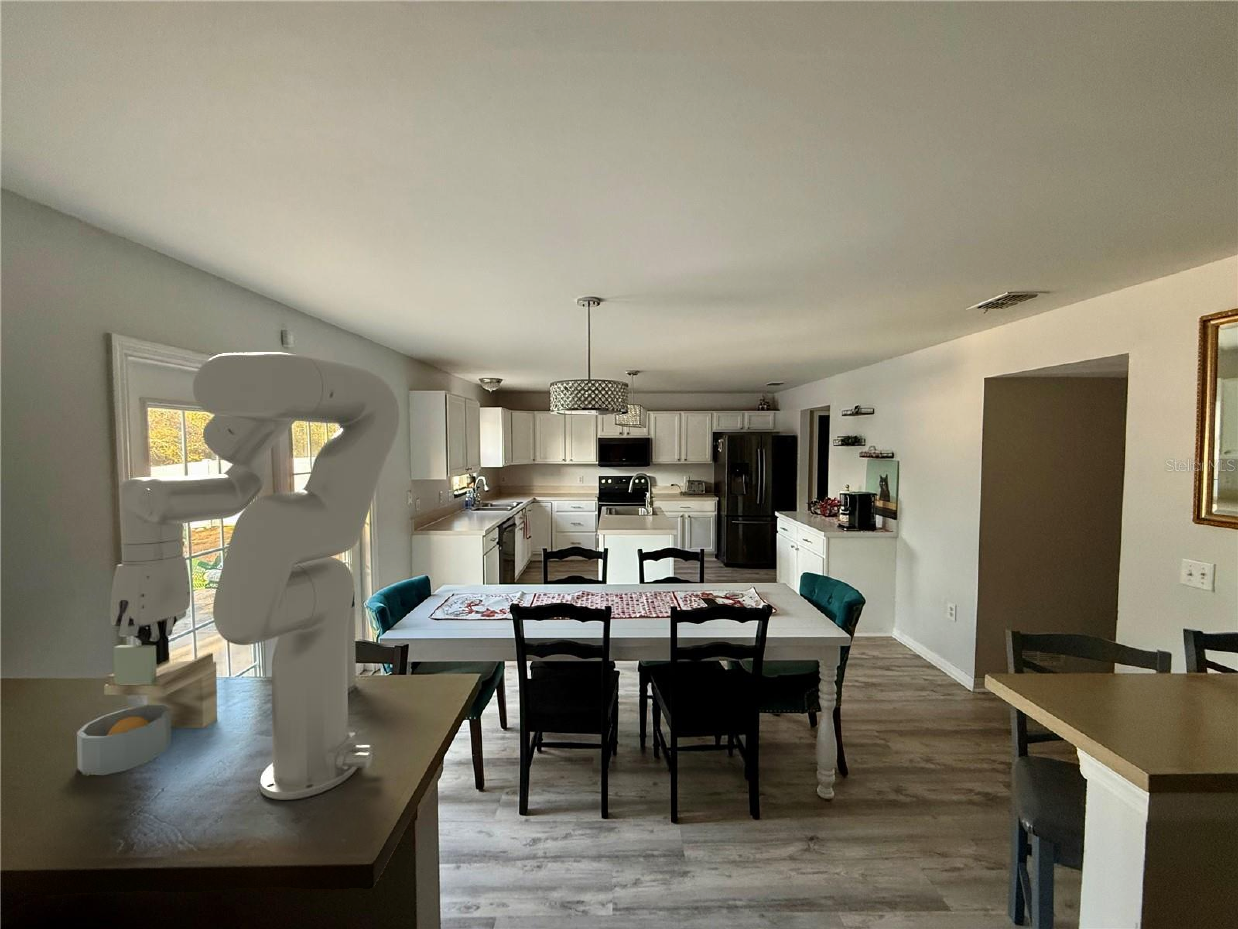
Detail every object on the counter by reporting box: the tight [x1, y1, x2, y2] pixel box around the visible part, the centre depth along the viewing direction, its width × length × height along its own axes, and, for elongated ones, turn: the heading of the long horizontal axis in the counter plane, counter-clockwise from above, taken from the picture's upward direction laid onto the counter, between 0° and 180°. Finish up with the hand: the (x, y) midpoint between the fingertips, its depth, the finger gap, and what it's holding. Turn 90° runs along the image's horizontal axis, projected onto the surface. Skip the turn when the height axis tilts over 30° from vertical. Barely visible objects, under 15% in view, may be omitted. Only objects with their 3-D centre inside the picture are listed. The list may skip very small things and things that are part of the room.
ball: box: [108, 717, 149, 735], centre depth 82 cm, size 5×5×5 cm
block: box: [113, 644, 156, 684], centre depth 83 cm, size 6×2×6 cm, turn 88°
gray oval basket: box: [76, 704, 172, 776], centre depth 81 cm, size 10×10×6 cm
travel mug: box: [347, 595, 357, 694], centre depth 104 cm, size 6×7×20 cm
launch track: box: [103, 652, 218, 729], centre depth 88 cm, size 10×10×12 cm
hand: (155, 662), depth 86 cm, fingers closed
